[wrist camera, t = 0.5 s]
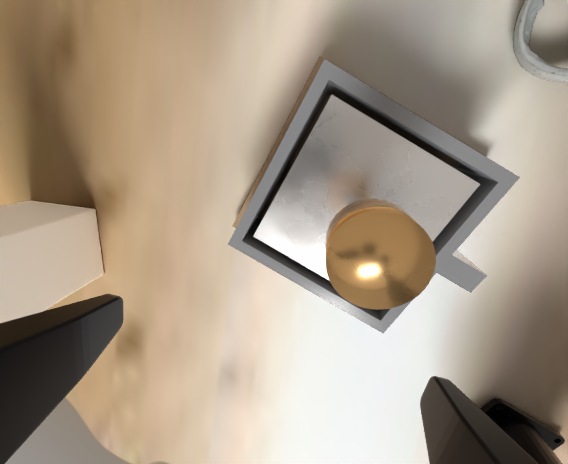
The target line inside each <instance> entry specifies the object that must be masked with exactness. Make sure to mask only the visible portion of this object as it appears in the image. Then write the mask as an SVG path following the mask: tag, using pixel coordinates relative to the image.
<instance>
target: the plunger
mask: <svg viewBox="0 0 568 464" xmlns="http://www.w3.org/2000/svg"><path fill="white" fill-rule="evenodd" d="M479 185H480V184H479V183H478V182H476V181H474V180H473V179H471V178H469V177H468V176H466V175H464V174H463V173H461V172H459V171H458V170H456V169H455V168H453V167H451V166H450V165H448V164H446V163H445V162H443V161H441V160H440V159H438V158H436V157H435V156H433V155H431V154H430V153H428V152H426V151H425V150H423V149H421V148H420V147H418V146H416V145H415V144H413V143H411V142H410V141H408V140H406V139H405V138H403V137H401V136H400V135H398V134H396V133H395V132H393V131H392V130H390V129H388V128H387V127H385V126H383V125H382V124H380V123H378V122H377V121H375V120H373V119H372V118H370V117H368V116H367V115H365V114H363V113H362V112H360V111H358V110H357V109H355V108H353V107H352V106H350V105H348V104H347V103H345V102H343V101H342V100H340V99H338V98H337V97H335V96H333V95H331V97H330V99H329V100H328V102H327V104H326V106H325V108H324V109H323V111H322V113H321V115H320V117H319V118H318V120H317V122H316V124H315V126H314V127H313V129H312V131H311V133H310V135H309V137H308V138H307V140H306V142H305V144H304V146H303V147H302V149H301V151H300V153H299V155H298V156H297V158H296V160H295V162H294V164H293V165H292V167H291V169H290V171H289V173H288V174H287V176H286V178H285V180H284V182H283V183H282V185H281V187H280V189H279V191H278V192H277V194H276V196H275V198H274V200H273V202H272V203H271V205H270V207H269V209H268V211H267V212H266V214H265V216H264V218H263V220H262V221H261V223H260V225H259V227H258V229H257V230H256V232H255V234H254V236H253V237H255V238H257V239H258V240H260V241H262V242H264V243H265V244H267V245H269V246H270V247H272V248H274V249H276V250H277V251H279V252H281V253H283V254H284V255H286V256H288V257H290V258H291V259H293V260H295V261H296V262H298V263H300V264H302V265H303V266H305V267H307V268H309V269H310V270H312V271H314V272H316V273H317V274H319V275H321V276H322V277H324V278H326V279H328V280H329V281H330V282H331V284H332V286H333V287H334V289H335V290H336V291H337V292H338V293H339V295H341V296H342V297H343V298H344V299H346V300H347V301H349V302H350V303H352V304H354V305H357V306H360V307H363V308H367V309H390V308H394V307H398V306H401V305H403V304H405V303H408V302H409V301H411V300H413V299H414V298H415V297H417V296H418V295H419V294H420V293H421V292H422V291H423V290H424V289H425V288H426V286H427V285H428V284H429V282H430V280H431V278H432V276H433V273H434V270H435V264H436V253H435V249H434V245H433V243H432V242H433V241H434V239H435V238H436V237H437V236H438V235H439V233H440V232H441V231H442V230H443V229H444V227H445V226H446V225H447V224H448V223H449V221H450V220H451V219H452V218H453V217H454V215H455V214H456V213H457V212H458V211H459V209H460V208H461V207H462V206H463V205H464V203H465V202H466V201H467V200H468V199H469V197H470V196H471V195H472V194H473V192H474V191H475V190H476V189H477V188H478V186H479Z"/></svg>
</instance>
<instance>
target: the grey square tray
mask: <svg viewBox="0 0 568 464" xmlns="http://www.w3.org/2000/svg"><path fill="white" fill-rule="evenodd" d="M331 95H333V96H335V97H337V98H338V99H340V100H342V101H343V102H345V103H347V104H348V105H350V106H352V107H353V108H355V109H357V110H358V111H360V112H362V113H363V114H365V115H367V116H368V117H370V118H372V119H373V120H375V121H377V122H378V123H380V124H382V125H383V126H385V127H387V128H388V129H390V130H392V131H393V132H395V133H396V134H398V135H400V136H401V137H403V138H405V139H406V140H408V141H410V142H411V143H413V144H415V145H416V146H418V147H420V148H421V149H423V150H425V151H426V152H428V153H430V154H431V155H433V156H435V157H436V158H438V159H440V160H441V161H443V162H445V163H446V164H448V165H450V166H451V167H453V168H455V169H456V170H458V171H459V172H461V173H463V174H464V175H466V176H468V177H469V178H471V179H473V180H474V181H476V182H478V183H479V184H480V185H479V186H478V188H477V189H476V190H475V191H474V192H473V194H472V195H471V196H470V197H469V199H468V200H467V201H466V202H465V203H464V205H463V206H462V207H461V208H460V209H459V211H458V212H457V213H456V214H455V215H454V217H453V218H452V219H451V220H450V221H449V223H448V224H447V225H446V226H445V227H444V229H443V230H442V231H441V232H440V233H439V235H438V236H437V237H436V238H435V239H434V241H433V242H432V243H433V245H434V249H435V253H436V264H435V270H434V273H433V276H434V275H435V274H436V273H438V274H440V275H442V276H443V277H445V278H447V279H448V280H450V281H452V282H454V283H455V284H457V285H459V286H460V287H462V288H464V289H465V290H467V291H469V292H472V291H473V290H474V289H475V288H476V287H477V286H478V284H479V283H480V282H481V281H482V280H483V279H484V278H485V277H486V276H487V275H486V274H485V273H483V272H482V271H481V270H480V269H479V268H477V267H476V266H475V265H474V264H473V263H471V262H470V261H469V260H468V259H467V258H465V257H464V256H463V255H462V254H461V253H459V252H458V251H457V248H458V247H459V246H460V245H461V244H462V243H463V242H464V241H465V239H466V238H467V237H468V236H469V235H470V234H471V233H472V231H473V230H474V229H475V228H476V227H477V226H478V225H479V223H480V222H481V221H482V220H483V219H484V218H485V217H486V215H487V214H488V213H489V212H490V211H491V210H492V209H493V207H494V206H495V205H496V204H497V203H498V202H499V201H500V199H501V198H502V197H503V196H504V195H505V194H506V193H507V191H508V190H509V189H510V188H511V187H512V186H513V185H514V183H515V182H516V181H517V180H518V179H519V178H520V177H518V176H517V175H515V174H513V173H512V172H510V171H508V170H507V169H505V168H503V167H502V166H500V165H498V164H497V163H495V162H494V161H492V160H490V159H489V158H487V157H485V156H484V155H482V154H480V153H479V152H477V151H475V150H474V149H472V148H470V147H469V146H467V145H466V144H464V143H462V142H461V141H459V140H457V139H456V138H454V137H452V136H451V135H449V134H447V133H446V132H444V131H442V130H441V129H439V128H438V127H436V126H434V125H433V124H431V123H429V122H428V121H426V120H424V119H423V118H421V117H419V116H418V115H416V114H415V113H413V112H411V111H410V110H408V109H406V108H405V107H403V106H401V105H400V104H398V103H396V102H395V101H393V100H391V99H390V98H388V97H387V96H385V95H383V94H382V93H380V92H378V91H377V90H375V89H373V88H372V87H370V86H368V85H367V84H365V83H363V82H362V81H360V80H359V79H357V78H355V77H354V76H352V75H350V74H349V73H347V72H345V71H344V70H342V69H340V68H339V67H337V66H335V65H334V64H332V63H331V62H329V61H327V60H326V59H323V58H322V57H319V59H318V61H317V63H316V65H315V67H314V69H313V71H312V73H311V75H310V77H309V79H308V80H307V82H306V84H305V86H304V88H303V90H302V92H301V94H300V96H299V98H298V100H297V102H296V104H295V106H294V108H293V110H292V112H291V113H290V115H289V117H288V119H287V121H286V123H285V125H284V127H283V129H282V131H281V133H280V135H279V137H278V139H277V141H276V143H275V145H274V146H273V148H272V150H271V152H270V154H269V156H268V158H267V160H266V162H265V164H264V166H263V168H262V170H261V172H260V174H259V176H258V178H257V180H256V181H255V183H254V185H253V187H252V189H251V191H250V193H249V195H248V197H247V199H246V201H245V203H244V205H243V207H242V209H241V211H240V213H239V214H238V216H237V218H236V220H235V222H234V224H233V227H235V228H236V230H235V232H234V234H233V235H232V237H231V239H230V241H229V243H228V245H230V246H232V247H234V248H235V249H237V250H239V251H241V252H242V253H244V254H246V255H248V256H249V257H251V258H253V259H255V260H256V261H258V262H260V263H262V264H263V265H265V266H267V267H269V268H270V269H272V270H274V271H276V272H277V273H279V274H281V275H282V276H284V277H286V278H288V279H289V280H291V281H293V282H295V283H296V284H298V285H300V286H302V287H303V288H305V289H307V290H309V291H310V292H312V293H314V294H316V295H317V296H319V297H321V298H323V299H324V300H326V301H328V302H330V303H331V304H333V305H335V306H337V307H338V308H340V309H342V310H343V311H345V312H347V313H349V314H350V315H352V316H354V317H356V318H357V319H359V320H361V321H363V322H364V323H366V324H368V325H370V326H371V327H373V328H375V329H377V330H378V331H380V332H382V333H384V332H385V331H386V330H387V328H388V327H389V326H390V325H391V324H392V323H393V322H394V320H395V319H396V318H397V317H398V316H399V315H400V314H401V312H402V311H403V310H404V309H405V308H406V307H407V306H408V304H409V303H410V302H411V301H412V300H411V301H409V302H408V303H405V304H403V305H401V306H398V307H394V308H390V309H367V308H363V307H360V306H357V305H354V304H352V303H350V302H349V301H347V300H346V299H344V298H343V297H342V296H341V295H339V293H338V292H337V291H336V290H335V289H334V287H333V286H332V284H331V282H330V281H329V280H328V279H326V278H324V277H322V276H321V275H319V274H317V273H316V272H314V271H312V270H310V269H309V268H307V267H305V266H303V265H302V264H300V263H298V262H296V261H295V260H293V259H291V258H290V257H288V256H286V255H284V254H283V253H281V252H279V251H277V250H276V249H274V248H272V247H270V246H269V245H267V244H265V243H264V242H262V241H260V240H258V239H257V238H255V237H253V236H254V234H255V232H256V230H257V229H258V227H259V225H260V223H261V221H262V220H263V218H264V216H265V214H266V212H267V211H268V209H269V207H270V205H271V203H272V202H273V200H274V198H275V196H276V194H277V192H278V191H279V189H280V187H281V185H282V183H283V182H284V180H285V178H286V176H287V174H288V173H289V171H290V169H291V167H292V165H293V164H294V162H295V160H296V158H297V156H298V155H299V153H300V151H301V149H302V147H303V146H304V144H305V142H306V140H307V138H308V137H309V135H310V133H311V131H312V129H313V127H314V126H315V124H316V122H317V120H318V118H319V117H320V115H321V113H322V111H323V109H324V108H325V106H326V104H327V102H328V100H329V99H330V97H331ZM433 276H432V277H433Z"/></svg>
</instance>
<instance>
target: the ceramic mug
mask: <svg viewBox="0 0 568 464" xmlns="http://www.w3.org/2000/svg"><path fill="white" fill-rule="evenodd" d="M543 6H544V0H525V2H524V4H523V7H522V9H521V11H520V13H519V16H518V19H517V22H516V26H515V31H514V52H515V55H516V57H517V60H518V62H519V64H520V65H521V67H523V68H524V69H525V70H526V71H528V72H529V73H531V74H532V75H534V76H536V77H539V78H542V79H545V80H548V81H555V82H568V69H566V68H559V67H555V66H552V65H550V64H548V63H547V62H546V61H544V60H542V59H540V58H539V56H538V55H537V54H535V53H533V52H532V51H531V50H530V48H529V41H530V36H531V32H532V27H533V23H534V20H535V18H536V15H537V13H538V11H539V10H540V9H541V8H542V7H543Z"/></svg>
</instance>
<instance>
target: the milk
mask: <svg viewBox="0 0 568 464" xmlns="http://www.w3.org/2000/svg"><path fill="white" fill-rule="evenodd" d="M103 274H104V270H103V262H102V255H101V247H100V240H99V232H98V225H97V217H96V210H95V209H92V208H84V207H77V206H69V205H61V204H54V203H46V202H38V201H25V202H20V203H15V204H10V205H5V206H0V323H3V322H7V321H10V320H14V319H17V318H21V317H25V316H28V315H32V314H36V313H39V312H42V311H44V310H46V309H47V308H49V307H51V306H52V305H54V304H56V303H57V302H59V301H61V300H62V299H64V298H66V297H67V296H69V295H71V294H72V293H74V292H76V291H77V290H79V289H81V288H82V287H84V286H86V285H87V284H89V283H91V282H92V281H94V280H96V279H97V278H99V277H101V276H102V275H103Z"/></svg>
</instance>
